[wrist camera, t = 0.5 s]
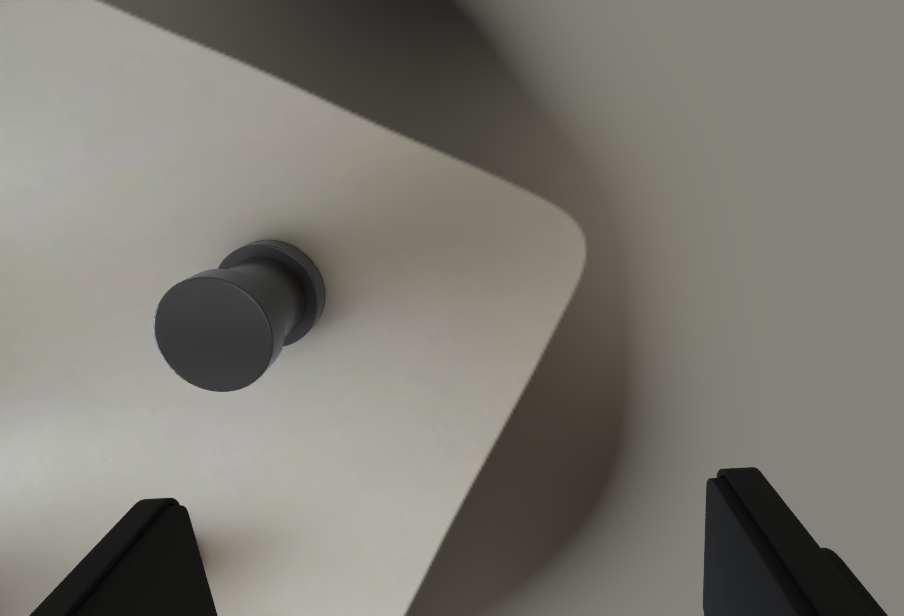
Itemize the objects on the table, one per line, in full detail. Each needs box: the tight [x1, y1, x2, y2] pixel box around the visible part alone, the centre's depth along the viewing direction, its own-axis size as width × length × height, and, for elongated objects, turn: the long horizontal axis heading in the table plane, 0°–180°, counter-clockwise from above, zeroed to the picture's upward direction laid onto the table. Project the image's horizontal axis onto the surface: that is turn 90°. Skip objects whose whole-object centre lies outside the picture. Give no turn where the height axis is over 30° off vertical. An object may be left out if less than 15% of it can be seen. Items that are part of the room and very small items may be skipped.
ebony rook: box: [154, 240, 325, 392], centre depth 25 cm, size 5×5×7 cm
